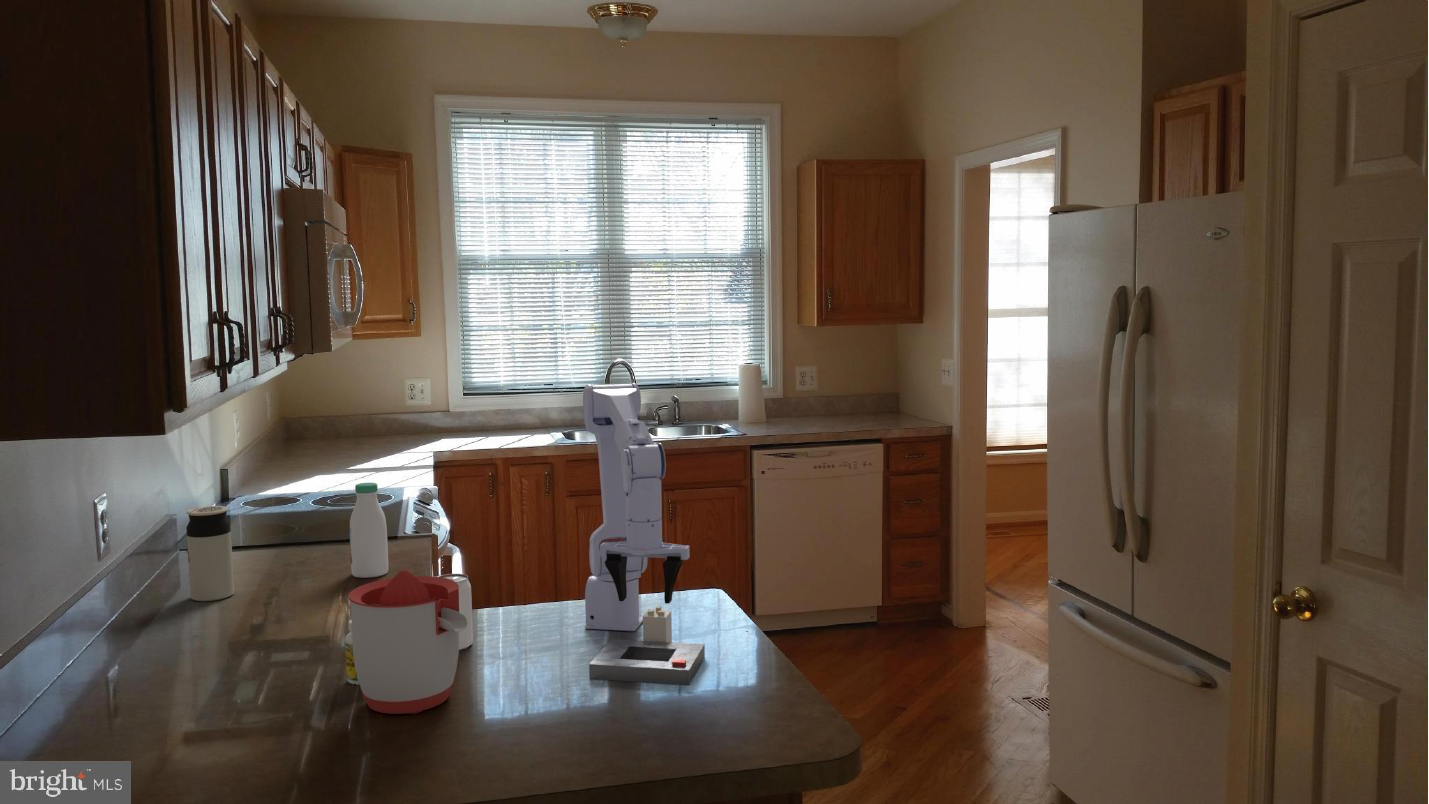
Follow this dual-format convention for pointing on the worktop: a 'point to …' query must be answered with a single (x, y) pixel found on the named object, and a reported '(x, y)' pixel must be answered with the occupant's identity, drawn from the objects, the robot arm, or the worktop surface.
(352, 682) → the supplement bottle
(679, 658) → the socket plate
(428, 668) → the citrus juicer
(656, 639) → the plug
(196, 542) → the travel mug
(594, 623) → the robot arm
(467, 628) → the can
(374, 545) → the milk bottle
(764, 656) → the worktop surface
